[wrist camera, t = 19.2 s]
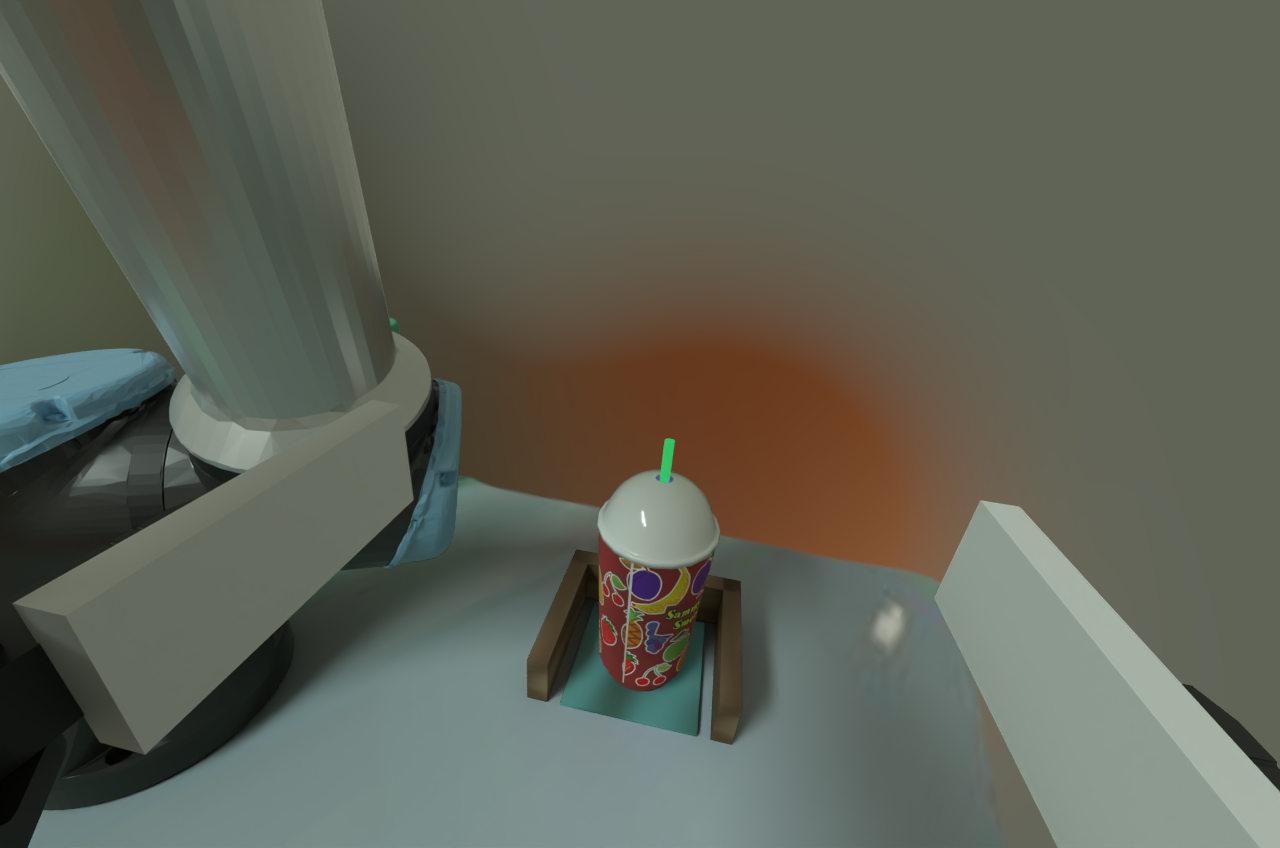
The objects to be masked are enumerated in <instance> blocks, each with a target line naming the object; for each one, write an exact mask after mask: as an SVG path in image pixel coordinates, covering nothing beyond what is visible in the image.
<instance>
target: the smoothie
mask: <svg viewBox="0 0 1280 848" xmlns="http://www.w3.org/2000/svg"><path fill="white" fill-rule="evenodd" d="M674 443H675V441H674V440H673V439H665V443H664V451H663V458H662V466H661V470H649V471H645V472H642V473H638V474H636V475H634V476H633V477H631V478H629V479H628V480H626V481H625V482H623V483H622V484H621V485H620V486H619V487H618V488H617V489H616V491H615V492H614V494H613V495H612V497H611V498H610V499H609V500H608V501H606V502H605V504H604V505H603V507H602V508H601V510H600V511H599V513H598V522H597V527H598V531H599V654H600V657H601V659H602V662H603V665H604V666H605V667H606V669H607V670H608V672H609V674H610V675H611V676H612V677H613V678H614V680H615V681H616V682H618V683H619V684H621V685H622V686H624V687H625V688H628V689H631V690H635V691H651V690H655V689H658V688H660V687H662V686H663V685H664V684H666V683H667V682H668V681H669V680H670V679H672V678H673V677H675V676H676V675H677V673H678V672H679V670H680V669H681V667H682V666H683V662H684V658H685V655H686V651H687V647H688V644H689V640H690V637H691V633H692V630H693V626H694V623H695V619H696V616H697V612H698V609H699V605H700V602H701V598H702V595H703V591H704V588H705V584H706V580H707V577H708V573H709V570H710V566H711V563H712V559H713V556H714V551H715V549H716V547H717V545H718V541H719V537H720V528H719V525H718V521H717V519H716V518H715V516H714V515H713V513H712V509H711V507H710V504H709V501H708V500H707V498H706V496H705V495H704V494H703V492H702V491H701V490H700V489H699V487H698V486H697V485H696V484H695V483H694V482H692V481H691V480H689V479H688V478H687V477H685V476H683V475H681V474H678V473H676V472H672V471H671V465H672V458H673V450H674Z"/></svg>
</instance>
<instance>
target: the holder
mask: <svg viewBox="0 0 1280 848" xmlns="http://www.w3.org/2000/svg"><path fill="white" fill-rule="evenodd" d="M586 597H589V598H593V599H598V600H599V554H597V553H592V552H587V551H582V550H577V549H576V551H575V554H574V556H573V558H572V560H571V563H570V565H569V567H568V569H567V572H566V574H565V576H564V578H563V580H562V583H561V585H560V587H559V589H558V592H557V594H556V596H555V598H554V601H553V603H552V605H551V607H550V610H549V612H548V614H547V616H546V618H545V621H544V623H543V625H542V627H541V630H540V632H539V634H538V636H537V639H536V641H535V643H534V645H533V648H532V650H531V652H530V654H529V657H528V659H527V697H529V698H533V699H537V700H542V701H546V702H547V700H548V698H549V695H550V692H551V690H552V687H553V684H554V682H555V679H556V676H557V673H558V671H559V668H560V665H561V663H562V660H563V657H564V655H565V652H566V649H567V646H568V644H569V641H570V638H571V636H572V633H573V630H574V628H575V625H576V622H577V620H578V617H579V614H580V611H581V609H582V606H583V603H584V601H585V598H586ZM696 620H701V621H706V622H711V623H716V629H715V651H714V673H713V696H712V718H711V740H714V741H718V742H722V743H727V744H731V745H732V743H733V739H734V735H735V732H736V728H737V725H738V721H739V718H740V714H741V711H742V651H741V581H737V580H732V579H727V578H721V577H716V576H711V575H708V577H707V580H706V584H705V588H704V591H703V595H702V598H701V602H700V605H699V609H698V612H697V616H696ZM704 627H705V623H702V622H697V621H695V623H694V626H693V630H692V633H691V637H690V640H689V644H688V647H687V651H686V655H685V658H684V662H683V666H682V667H681V669H680V670H679V672H678V673H677V675H676V676H675V677H673V678H672V679H670V680H669V681H668V682H667V683H666V684H664V685H663V686H662V687H660V688H658V689H655V690H651V691H635V690H631V689H628V688H625V687H624V686H622V685H621V684H619V683H618V682H616V681H615V680H614V678H613V677H612V676H611V675H610V674H609V672H608V670H607V669H606V667H605V666H604V665H603V662H602V659H601V657H600V654H599V601H595V603H594V606H593V608H592V611H591V614H590V617H589V620H588V623H587V626H586V629H585V632H584V635H583V637H582V640H581V643H580V646H579V649H578V652H577V655H576V658H575V661H574V664H573V667H572V669H571V672H570V675H569V678H568V681H567V684H566V687H565V690H564V693H563V696H562V698H561V701H560V705H563V706H568V707H572V708H576V709H580V710H585V711H589V712H593V713H598V714H602V715H606V716H611V717H615V718H619V719H623V720H628V721H632V722H636V723H641V724H645V725H649V726H654V727H658V728H662V729H667V730H671V731H675V732H679V733H684V734H688V735H692V736H697V727H698V712H699V698H700V684H701V670H702V656H703V641H704Z"/></svg>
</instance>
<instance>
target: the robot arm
mask: <svg viewBox="0 0 1280 848" xmlns="http://www.w3.org/2000/svg"><path fill="white" fill-rule="evenodd" d="M0 73H1V75H2V77H3V78H4V80H5V81H6V83H7V85H8V86H9V88H10V90H11V91H12V93H13V94H14V96H15V98H16V99H17V101H18V102H19V104H20V106H21V107H22V109H23V111H24V112H25V114H26V115H27V117H28V119H29V120H30V122H31V124H32V125H33V127H34V128H35V130H36V132H37V133H38V135H39V137H40V138H41V140H42V141H43V143H44V145H45V146H46V148H47V149H48V151H49V153H50V154H51V156H52V158H53V159H54V161H55V162H56V164H57V166H58V167H59V169H60V170H61V172H62V174H63V175H64V177H65V179H66V180H67V182H68V183H69V185H70V187H71V188H72V190H73V191H74V193H75V195H76V196H77V198H78V200H79V201H80V203H81V204H82V206H83V208H84V209H85V211H86V212H87V214H88V216H89V217H90V219H91V221H92V222H93V224H94V225H95V227H96V229H97V230H98V232H99V234H100V235H101V237H102V239H103V240H104V241H105V243H106V245H107V246H108V248H109V250H110V251H111V253H112V255H113V256H114V258H115V260H116V261H117V263H118V264H119V266H120V268H121V269H122V270H123V273H124V274H125V276H126V277H127V279H128V281H129V282H130V284H131V285H132V287H133V288H134V290H135V292H136V294H137V295H138V297H139V298H140V300H141V301H142V303H143V305H144V306H145V308H146V310H147V311H148V313H149V315H150V316H151V318H152V319H153V321H154V323H155V324H156V326H157V327H158V329H159V331H160V332H161V334H162V335H163V337H164V339H165V341H166V342H167V344H168V345H169V347H170V349H171V350H172V352H173V353H174V355H175V357H176V358H177V360H178V362H179V363H180V365H181V366H182V368H183V369H184V371H185V373H186V374H185V375H184V376H183V377H182V379H181V380H180V382H179V383H178V384H177V381H176V378H177V375H178V374H177V372H176V369H175V368H173V367H171V366H170V365H169V363H168V361H167V360H166V359H165V358H164V357H163V356H162V355H160V354H158V353H155V352H147V351H145V350H142V349H105V350H93V351H84V352H76V353H69V354H62V355H56V356H49V357H43V358H37V359H31V360H26V361H21V362H16V363H11V364H6V365H2V366H0V848H28V845H29V843H30V840H31V838H32V835H33V833H34V830H35V828H36V826H37V823H38V821H39V818H40V816H41V813H42V811H43V810H65V809H75V808H81V807H87V806H91V805H96V804H100V803H104V802H107V801H111V800H114V799H117V798H120V797H123V796H126V795H129V794H132V793H134V792H137V791H140V790H142V789H144V788H147V787H149V786H151V785H154V784H156V783H158V782H160V781H162V780H164V779H166V778H168V777H170V776H172V775H174V774H176V773H178V772H179V771H181V770H183V769H185V768H187V767H188V766H190V765H192V764H193V763H195V762H196V761H198V760H200V759H201V758H203V757H204V756H206V755H207V754H209V753H210V752H212V751H213V750H215V749H216V748H217V747H219V746H220V745H221V744H223V743H224V742H225V741H227V740H228V739H229V738H230V737H232V736H233V735H234V734H235V733H236V732H238V731H239V730H240V729H241V728H242V727H243V726H244V725H246V724H247V723H248V722H249V721H250V720H251V719H252V718H253V717H254V716H255V715H256V714H257V713H258V712H259V711H260V710H261V708H262V707H263V706H264V705H265V704H266V703H267V701H268V700H269V699H270V698H271V696H272V695H273V694H274V692H275V691H276V690H277V688H278V686H279V685H280V683H281V682H282V680H283V678H284V676H285V674H286V672H287V670H288V668H289V665H290V662H291V659H292V655H293V648H294V640H293V634H292V631H291V627H290V624H289V621H288V619H289V618H290V617H291V616H292V615H293V614H294V613H295V612H296V611H297V610H298V609H299V608H300V607H301V606H302V605H303V604H304V603H305V602H307V601H308V600H309V599H310V598H311V597H312V596H313V595H314V594H315V593H316V592H317V591H318V590H319V589H320V588H321V587H322V586H323V585H324V584H325V583H327V582H328V581H329V580H330V579H331V578H332V577H333V576H334V575H335V574H336V573H337V572H338V571H339V570H349V569H360V568H371V567H382V568H385V569H388V568H393V567H395V566H397V565H398V564H402V563H408V562H415V561H421V560H427V559H432V558H435V557H437V556H439V555H440V554H442V553H443V552H444V551H445V550H446V549H447V548H448V547H449V545H450V544H451V542H452V539H453V535H454V529H455V520H456V507H457V490H458V472H459V458H460V441H461V415H462V393H461V389H460V388H459V386H458V385H456V384H455V383H452V382H447V381H444V380H442V379H432V377H431V373H430V369H429V366H428V363H427V360H426V358H425V357H424V356H423V354H422V353H421V351H420V350H419V349H418V348H417V347H416V346H415V345H414V344H412V343H411V342H410V341H408V340H407V339H406V338H404V337H402V336H401V335H399V334H397V333H395V332H393V331H392V330H391V325H390V320H389V316H388V311H387V307H386V302H385V297H384V292H383V288H382V283H381V278H380V273H379V269H378V264H377V259H376V255H375V251H374V245H373V241H372V236H371V232H370V227H369V222H368V217H367V213H366V208H365V203H364V199H363V194H362V189H361V185H360V180H359V175H358V171H357V166H356V161H355V157H354V152H353V148H352V142H351V138H350V133H349V128H348V124H347V119H346V114H345V110H344V105H343V100H342V96H341V91H340V86H339V82H338V77H337V72H336V68H335V63H334V58H333V54H332V49H331V44H330V40H329V35H328V30H327V26H326V21H325V16H324V11H323V7H322V2H321V0H0ZM934 599H935V601H936V603H937V605H938V607H939V609H940V611H941V613H942V615H943V617H944V619H945V621H946V623H947V625H948V627H949V629H950V631H951V633H952V635H953V637H954V639H955V641H956V643H957V645H958V647H959V649H960V651H961V653H962V655H963V657H964V659H965V662H966V664H967V666H968V668H969V670H970V672H971V674H972V676H973V678H974V680H975V682H976V684H977V686H978V688H979V690H980V692H981V694H982V696H983V698H984V700H985V702H986V704H987V706H988V708H989V710H990V712H991V714H992V716H993V718H994V720H995V722H996V724H997V726H998V728H999V730H1000V732H1001V734H1002V736H1003V738H1004V740H1005V742H1006V744H1007V746H1008V748H1009V750H1010V753H1011V755H1012V756H1013V758H1014V761H1015V762H1016V765H1017V767H1018V769H1019V771H1020V773H1021V775H1022V777H1023V779H1024V781H1025V783H1026V785H1027V787H1028V789H1029V791H1030V793H1031V795H1032V797H1033V799H1034V801H1035V803H1036V805H1037V807H1038V809H1039V811H1040V813H1041V815H1042V817H1043V819H1044V821H1045V823H1046V825H1047V827H1048V829H1049V831H1050V833H1051V836H1052V838H1053V840H1054V841H1055V844H1056V846H1057V848H1280V769H1278V767H1277V762H1276V761H1275V759H1274V758H1273V757H1272V756H1271V755H1270V754H1269V753H1268V752H1267V751H1266V750H1265V749H1264V748H1263V747H1262V746H1261V745H1260V744H1259V743H1258V742H1257V740H1256V739H1254V737H1253V736H1252V735H1251V734H1250V733H1249V732H1248V731H1247V730H1246V729H1245V728H1244V727H1243V726H1242V725H1241V724H1240V723H1239V722H1238V721H1237V720H1236V719H1234V718H1233V717H1232V716H1230V715H1229V714H1228V713H1226V712H1225V711H1224V710H1223V709H1221V708H1220V707H1219V706H1217V705H1216V704H1215V703H1214V702H1212V701H1211V700H1210V699H1208V698H1207V697H1206V696H1204V695H1203V694H1202V693H1200V692H1199V691H1198V690H1197V689H1195V688H1194V687H1193V686H1191V685H1186V684H1181V683H1180V682H1179V681H1178V680H1177V679H1176V678H1175V677H1174V675H1173V674H1172V673H1171V672H1170V671H1169V670H1168V669H1167V668H1166V667H1165V666H1164V664H1163V663H1161V661H1160V660H1159V659H1158V658H1157V657H1156V656H1155V655H1154V653H1153V652H1152V651H1151V650H1150V649H1149V648H1148V647H1147V646H1146V645H1145V644H1144V643H1143V641H1142V640H1141V639H1140V638H1139V637H1138V636H1137V635H1136V634H1135V633H1134V632H1133V630H1132V629H1131V628H1130V627H1129V626H1128V625H1127V624H1126V623H1125V622H1124V621H1123V620H1122V618H1121V617H1120V616H1119V615H1118V614H1117V613H1116V612H1115V611H1114V610H1113V609H1112V608H1111V606H1110V605H1109V604H1108V603H1107V602H1106V601H1105V600H1104V599H1103V598H1102V597H1101V595H1100V594H1099V593H1098V592H1097V591H1096V590H1095V589H1094V588H1093V587H1092V586H1091V584H1090V583H1089V582H1088V581H1087V580H1086V579H1085V578H1084V577H1083V576H1082V575H1081V573H1080V572H1079V571H1078V570H1077V569H1076V568H1075V567H1074V566H1073V565H1072V564H1071V563H1070V561H1069V560H1068V559H1067V558H1066V557H1065V556H1064V555H1063V554H1062V553H1061V552H1060V550H1059V549H1058V548H1057V547H1056V546H1055V545H1054V544H1053V543H1052V542H1051V541H1050V540H1049V538H1048V537H1047V536H1046V535H1045V534H1044V533H1043V532H1042V531H1041V530H1040V529H1039V527H1037V525H1036V524H1035V523H1034V522H1033V521H1032V520H1031V519H1030V518H1029V517H1028V515H1027V514H1026V513H1025V512H1024V511H1023V510H1022V509H1021V508H1020V507H1018V506H1012V505H1006V504H1000V503H993V502H987V501H981V500H980V502H979V505H978V507H977V509H976V511H975V513H974V515H973V517H972V519H971V522H970V524H969V526H968V528H967V530H966V532H965V534H964V536H963V538H962V541H961V543H960V545H959V547H958V549H957V551H956V553H955V555H954V557H953V559H952V561H951V563H950V566H949V568H948V570H947V572H946V574H945V576H944V578H943V580H942V582H941V584H940V587H939V589H938V591H937V593H936V595H935V597H934Z"/></svg>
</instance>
